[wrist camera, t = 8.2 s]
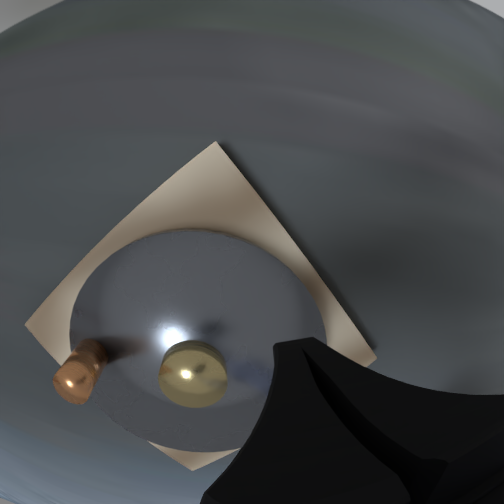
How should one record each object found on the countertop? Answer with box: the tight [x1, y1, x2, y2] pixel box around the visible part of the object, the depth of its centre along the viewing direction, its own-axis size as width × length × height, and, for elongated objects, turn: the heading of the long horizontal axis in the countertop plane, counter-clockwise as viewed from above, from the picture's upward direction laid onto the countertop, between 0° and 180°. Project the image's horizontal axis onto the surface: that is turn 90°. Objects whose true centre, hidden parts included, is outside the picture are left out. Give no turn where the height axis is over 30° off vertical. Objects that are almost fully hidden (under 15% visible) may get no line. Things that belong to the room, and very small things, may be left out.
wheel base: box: [25, 141, 377, 471], centre depth 18 cm, size 17×17×1 cm
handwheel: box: [53, 228, 327, 453], centre depth 15 cm, size 15×15×5 cm
